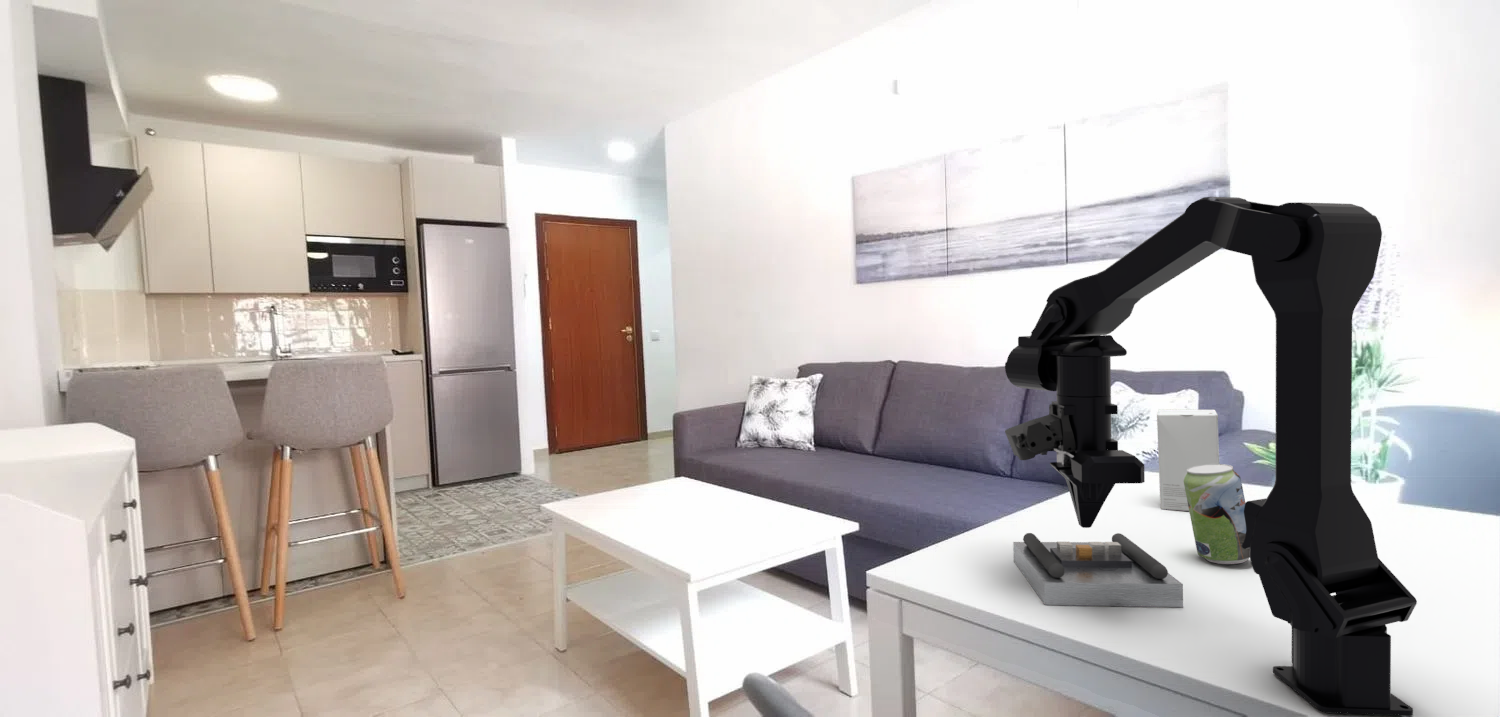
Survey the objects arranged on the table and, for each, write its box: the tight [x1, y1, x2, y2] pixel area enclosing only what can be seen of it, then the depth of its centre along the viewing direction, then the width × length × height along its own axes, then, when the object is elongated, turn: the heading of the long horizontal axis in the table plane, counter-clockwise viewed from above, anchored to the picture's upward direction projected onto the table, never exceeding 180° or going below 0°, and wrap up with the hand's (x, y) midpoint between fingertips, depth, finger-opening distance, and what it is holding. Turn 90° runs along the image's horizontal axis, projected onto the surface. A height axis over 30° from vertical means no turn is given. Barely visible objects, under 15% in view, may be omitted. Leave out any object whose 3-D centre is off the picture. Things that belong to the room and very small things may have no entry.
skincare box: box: [1156, 408, 1220, 512], centre depth 110 cm, size 8×7×16 cm
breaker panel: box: [1012, 541, 1184, 608], centre depth 81 cm, size 14×14×4 cm
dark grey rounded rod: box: [1111, 532, 1169, 579], centre depth 80 cm, size 13×2×2 cm, turn 172°
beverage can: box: [1184, 463, 1250, 565], centre depth 86 cm, size 6×7×12 cm
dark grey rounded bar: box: [1022, 532, 1065, 578], centre depth 81 cm, size 13×2×2 cm, turn 172°
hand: (1085, 526), depth 81 cm, fingers closed
